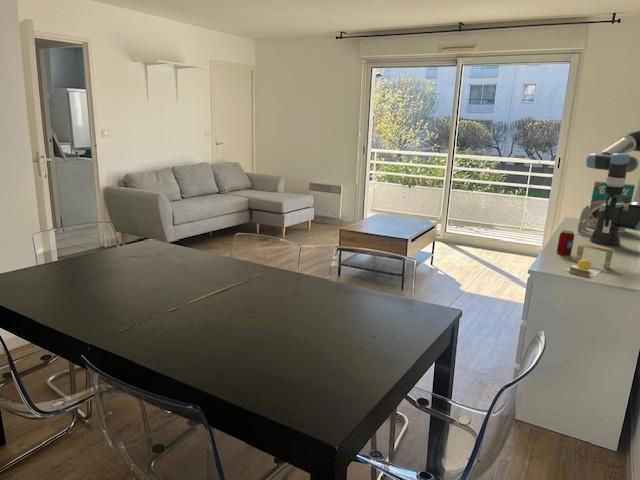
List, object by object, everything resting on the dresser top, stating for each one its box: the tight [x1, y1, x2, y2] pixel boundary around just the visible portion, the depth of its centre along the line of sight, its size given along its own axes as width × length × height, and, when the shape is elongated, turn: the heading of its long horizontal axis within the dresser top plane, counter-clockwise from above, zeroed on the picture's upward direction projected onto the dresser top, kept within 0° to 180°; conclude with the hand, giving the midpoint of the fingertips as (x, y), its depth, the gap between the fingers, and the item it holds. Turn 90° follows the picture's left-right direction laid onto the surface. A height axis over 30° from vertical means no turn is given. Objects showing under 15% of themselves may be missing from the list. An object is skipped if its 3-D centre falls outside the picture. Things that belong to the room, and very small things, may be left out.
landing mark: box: [565, 264, 602, 278], centre depth 224 cm, size 12×12×1 cm
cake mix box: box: [586, 180, 636, 234], centre depth 311 cm, size 22×6×30 cm, turn 58°
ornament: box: [575, 204, 595, 237], centre depth 299 cm, size 22×13×17 cm, turn 137°
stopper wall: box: [568, 266, 590, 278], centre depth 218 cm, size 2×8×2 cm, turn 48°
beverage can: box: [556, 230, 575, 257], centre depth 249 cm, size 7×7×12 cm
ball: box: [576, 258, 592, 270], centre depth 224 cm, size 6×6×6 cm
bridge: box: [574, 242, 614, 270], centre depth 233 cm, size 3×14×9 cm, turn 48°
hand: (605, 232), depth 242 cm, fingers closed
